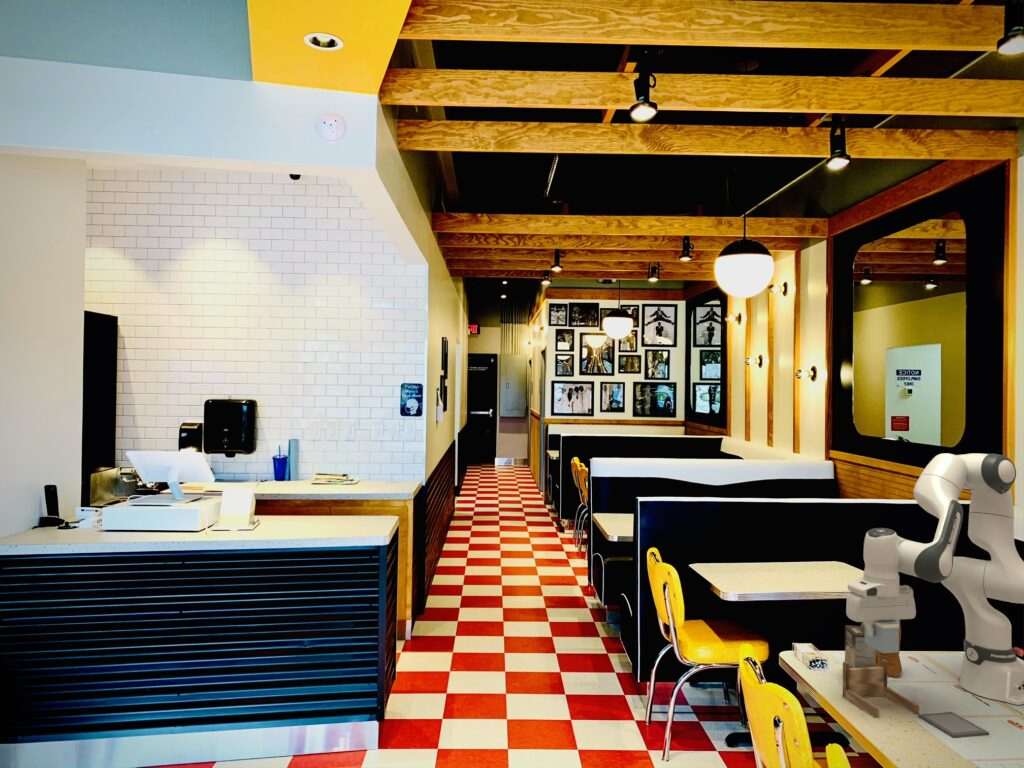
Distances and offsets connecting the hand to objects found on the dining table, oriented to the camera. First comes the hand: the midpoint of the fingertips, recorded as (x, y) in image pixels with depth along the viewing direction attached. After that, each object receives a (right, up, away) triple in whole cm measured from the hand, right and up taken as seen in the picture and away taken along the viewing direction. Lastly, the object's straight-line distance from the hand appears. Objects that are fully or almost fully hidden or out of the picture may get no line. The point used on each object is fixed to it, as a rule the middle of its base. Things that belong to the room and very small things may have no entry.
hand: (881, 635), depth 176 cm
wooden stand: (-1, -20, -1) cm, 20 cm away
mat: (+12, -20, -11) cm, 26 cm away
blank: (0, -4, 0) cm, 4 cm away
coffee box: (+2, -21, +14) cm, 25 cm away
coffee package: (+14, -21, +24) cm, 35 cm away
